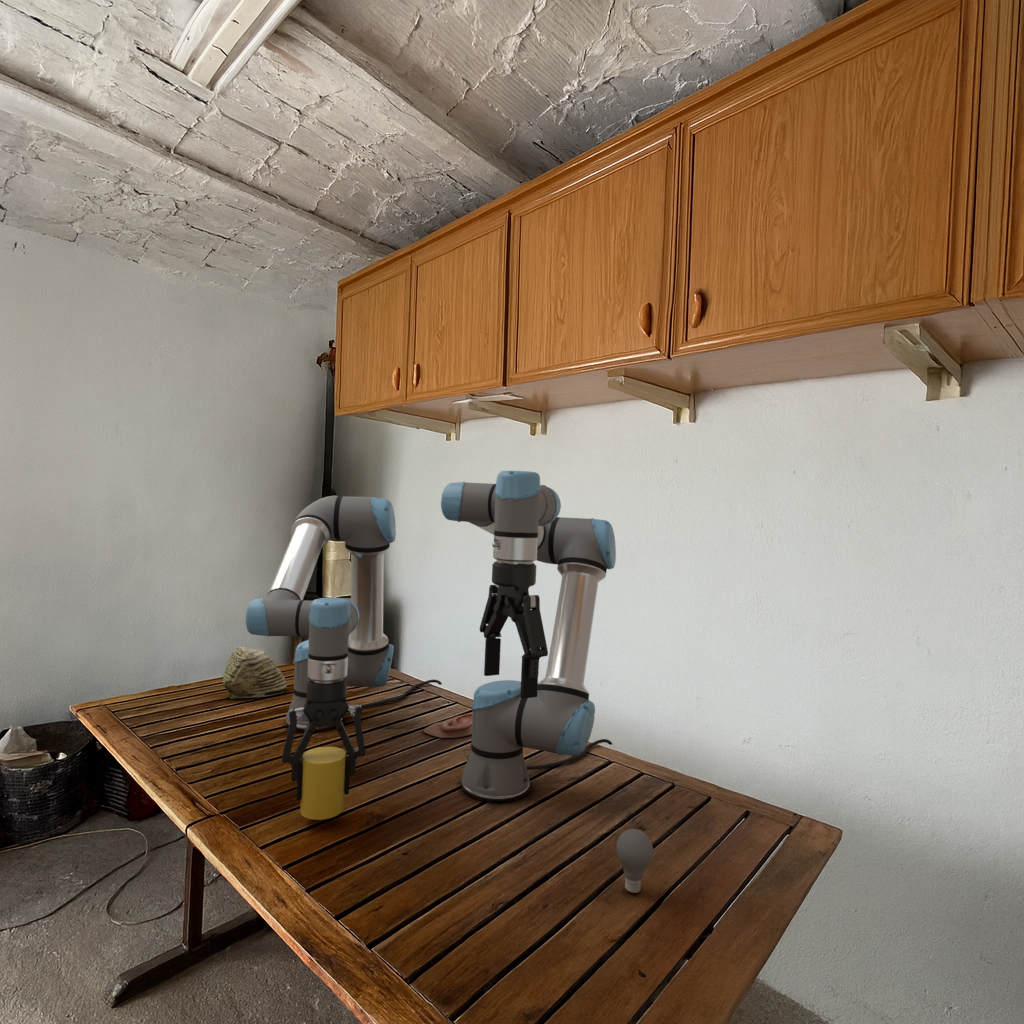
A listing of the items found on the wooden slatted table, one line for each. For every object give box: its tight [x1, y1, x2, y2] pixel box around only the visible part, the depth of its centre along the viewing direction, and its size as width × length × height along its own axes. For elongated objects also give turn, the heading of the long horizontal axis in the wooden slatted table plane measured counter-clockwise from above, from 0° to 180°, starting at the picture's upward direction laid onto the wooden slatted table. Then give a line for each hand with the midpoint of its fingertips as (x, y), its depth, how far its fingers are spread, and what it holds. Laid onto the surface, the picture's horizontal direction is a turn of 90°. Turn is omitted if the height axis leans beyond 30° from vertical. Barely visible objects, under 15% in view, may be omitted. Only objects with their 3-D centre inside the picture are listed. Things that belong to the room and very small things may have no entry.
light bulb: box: [615, 828, 654, 894], centre depth 106 cm, size 6×6×10 cm
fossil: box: [222, 646, 288, 699], centre depth 198 cm, size 9×18×15 cm, turn 132°
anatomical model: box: [423, 712, 472, 739], centre depth 174 cm, size 13×4×12 cm
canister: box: [299, 746, 347, 821], centre depth 124 cm, size 8×8×11 cm
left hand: (322, 793), depth 124 cm, fingers closed on canister, 8 cm apart
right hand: (509, 685), depth 108 cm, fingers open, 13 cm apart
